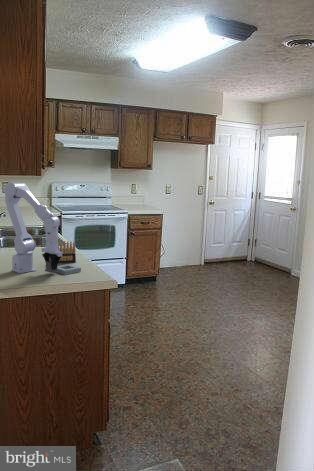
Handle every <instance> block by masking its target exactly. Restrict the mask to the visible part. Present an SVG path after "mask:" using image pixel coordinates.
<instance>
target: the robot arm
mask: <svg viewBox="0 0 314 471" xmlns="http://www.w3.org/2000/svg"><path fill="white" fill-rule="evenodd" d="M3 192H4V195H5V196H4V199H5V200H4V201H5V205H6V209H7V211H8V212H7V213H8V215H9V218H10V221H11V224H12V227H13V230H14V233H15V236H14V240H13V243H14V250H15V252H16V253H15V254H14V255H12V259H11V261H12V262H11V263H12V264H11V265H12V266H11V267H12V268H11V271H13V272H16V273H17V274H24V273H29V272H36V271H37V269H36V268H34V250H35V249H36V248H37V247H36V246H37V244H36V241H35V240H34V239H33V236H32V235H31V234H30V233H28V231H27V227H26V225H25V221H24V218H23V216H22V215H23V214H22V212H21V209H20V206H19V201H20V200H21V199H22V198H23V199H24V200H25V201H26V202H27V203H28V204H30V206H31V207H32V208H33V209H34V214H35V215H36V216H37V217H38V218H39V219H40V220H41V221H42V223H43V228H44V231H45V247H41V252H42V253H41V255H42V257H43V259H44V261H45V263H46V261H49V257H50V259H51V264H52V270H54V269H57V265H58V266H59V263H58V262H59V260H60V258H61V256H62V252H60V249H59V250H58V242H59V227H60V226H61V219H60V217H59V216H57V215H54V213H53V212H51V210H50V209H48V206H47V205H45V204H40V202H39V201H38V200H37V198H36V197H35V196H34V195H33V193H32V192H31V190H30V188H29V186H28V185H26V183H24V182H21V181H20V182H8V183H6V185H5V187H4V188H3Z"/></svg>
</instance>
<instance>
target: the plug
mask: <svg viewBox="0 0 314 471" xmlns="http://www.w3.org/2000/svg"><path fill="white" fill-rule="evenodd" d="M58 266H59V264H58V265H57V269H58ZM57 269H54V270H52V264H51V259H50V257H49V261H46V262H45V272H48V273H58V272H57Z"/></svg>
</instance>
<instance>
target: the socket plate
mask: <svg viewBox="0 0 314 471" xmlns="http://www.w3.org/2000/svg"><path fill="white" fill-rule="evenodd" d="M81 271H82V267H80V266H76V265H73V264H70V263H66V264H63V265H61V264H60V265H58V269H57V272H56V273H59V274H61V275H64V276H65V275H71V274H77V273H81Z"/></svg>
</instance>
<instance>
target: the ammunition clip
mask: <svg viewBox="0 0 314 471" xmlns="http://www.w3.org/2000/svg"><path fill="white" fill-rule="evenodd" d="M58 250H59V251H60V252H62V256H61V258H60V260H59V262H58V264H70V263H72V264H73V263H77V262H76V261H77V257H76V256H77V255H76V243H75V241H73V242H72V241H70V243H69V241H63V242H62V241H60V244H59V241H58Z"/></svg>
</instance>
